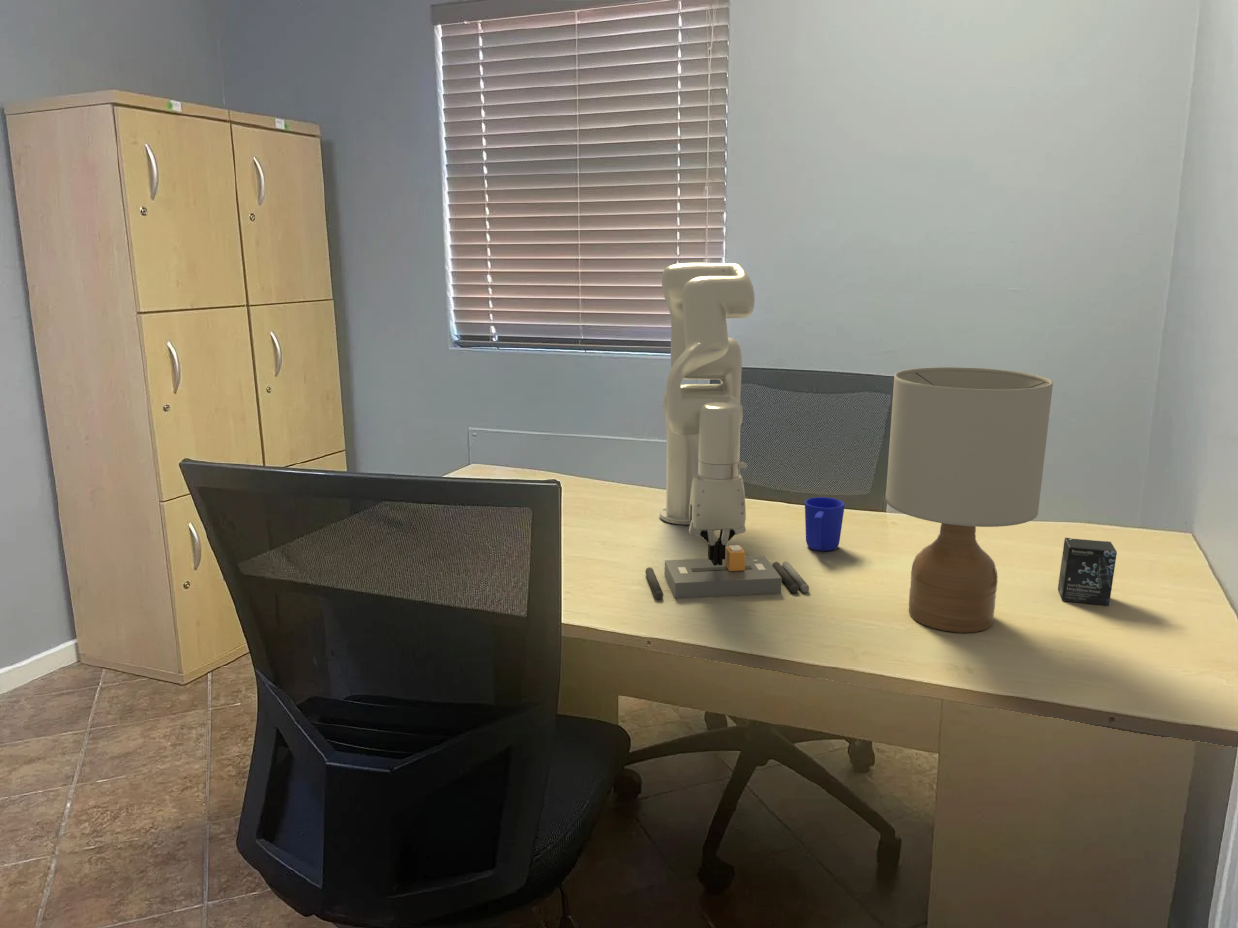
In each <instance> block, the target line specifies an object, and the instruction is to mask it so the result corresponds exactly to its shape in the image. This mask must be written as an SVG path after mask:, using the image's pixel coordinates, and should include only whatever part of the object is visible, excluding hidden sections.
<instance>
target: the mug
mask: <svg viewBox="0 0 1238 928" xmlns="http://www.w3.org/2000/svg"><path fill="white" fill-rule="evenodd" d="M845 505H846V504H845V502H844V501H842V500H840V499H837V498H833V497H823V496H822V497H821V496H819V497H815V496H814V497H810V498H807V499H806V500H804V514H805V515H804V517H805V519H804V523H805V542H806V545H807V546H808V547H809V549H812V550H814V551H818V552H819V551H820V552H831V551H834V550H836V549H837V548H838V547H839V546H840V545H839V544H840V540H841V534H842V528H843V527H842V526H843V521H844V520H843V519H844V512H845Z"/></svg>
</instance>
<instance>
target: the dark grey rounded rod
mask: <svg viewBox="0 0 1238 928" xmlns="http://www.w3.org/2000/svg"><path fill="white" fill-rule="evenodd" d="M645 574H646V578H647V580H648V583H649V584H650V588H651V590H652V593H653V595H654V598H655V599H656V600H661V599H663V598H664V592H663V590H662V588H661V585H660V582H659V580H658V578H657V576H656V573H655V570H654V569H653V567H647V568H646V569H645Z"/></svg>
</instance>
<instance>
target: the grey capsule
mask: <svg viewBox="0 0 1238 928" xmlns="http://www.w3.org/2000/svg"><path fill="white" fill-rule="evenodd" d="M771 565H772V566H773V567H774V569H775V570H776V571H777V573H778V574H779V575H780V576H781V578H782V581H783V583H784V584H785V585H786V587H787V588H788V589H789V590H790V592H791V593H792V594H796V593H798V592H799V590H800V588H799V587H798V586H797V584H796V583H795V582H794V581H793V579H792V578H791V577H790V576H789V574H788V573H787V572H786V571H785V569H784V568H783V567H782V564H781V563H780V562H778V561H774V562H772V564H771Z"/></svg>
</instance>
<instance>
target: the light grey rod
mask: <svg viewBox="0 0 1238 928" xmlns="http://www.w3.org/2000/svg"><path fill="white" fill-rule="evenodd" d="M781 566H782V567H783V568H784V569H785V571H786V572H787V573H788V574H789V576H790V577H791V578H792V579H793V581H794V582H795V583H796V584H797V586H798V587H799V590H800V591H801V592H803V593H808V592H809V590H810V586H809V584H808V583H807V582H806V581H805V580H804V579H803V577H802V576H801V575H800V574H799V573H798V571H797V569H796V568H794V566H792V564H791V563H790V562H789V561H786V560H785V561H783V562H782V564H781Z"/></svg>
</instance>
